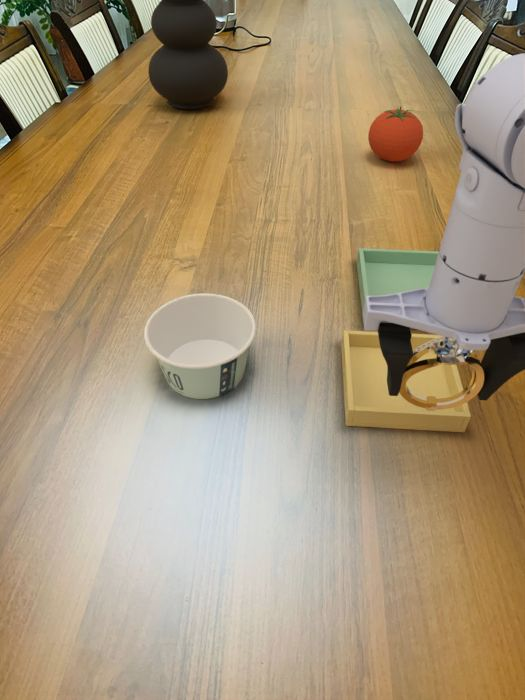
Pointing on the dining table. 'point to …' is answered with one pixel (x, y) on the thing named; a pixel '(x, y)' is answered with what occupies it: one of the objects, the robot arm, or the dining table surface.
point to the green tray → (393, 271)
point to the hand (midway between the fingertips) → (435, 389)
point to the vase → (186, 54)
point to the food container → (201, 343)
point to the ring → (446, 356)
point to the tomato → (395, 135)
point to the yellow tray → (394, 411)
